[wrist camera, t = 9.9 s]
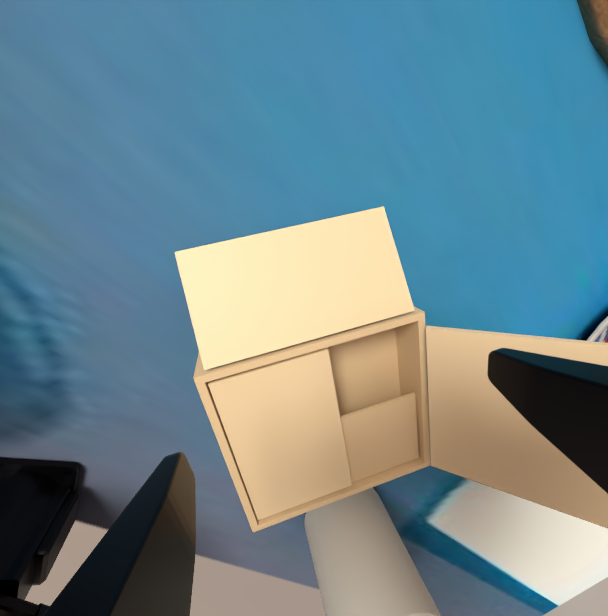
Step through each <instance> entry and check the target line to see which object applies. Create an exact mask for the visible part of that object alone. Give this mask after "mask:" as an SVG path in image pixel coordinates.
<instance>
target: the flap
mask: <svg viewBox="0 0 608 616" xmlns="http://www.w3.org/2000/svg"><path fill="white" fill-rule="evenodd" d="M426 345H427V372H428V399H429V426H430V453H431V466H433V467H436V468H439V469H442V470H444V471H447V472H450V473H453V474H456V475H459V476H461V477H464V478H467V479H470V480H473V481H475V482H478V483H481V484H484V485H487V486H490V487H492V488H495V489H498V490H501V491H504V492H507V493H509V494H512V495H515V496H518V497H521V498H523V499H526V500H529V501H532V502H535V503H538V504H540V505H543V506H546V507H549V508H552V509H555V510H557V511H560V512H563V513H566V514H569V515H572V516H574V517H577V518H580V519H583V520H586V521H588V522H591V523H594V524H597V525H600V526H603V527H605V528H608V494H607V493H606V492H605V491H604V490H603V489H602V488H601V487H600V486H598V485H597V484H596V483H595V482H594V481H593V480H592V479H591V478H590V477H588V476H587V475H586V474H585V473H584V472H583V471H582V470H581V469H580V468H578V467H577V466H576V465H575V464H574V463H573V462H572V461H571V460H570V459H568V458H567V457H566V456H565V455H564V454H563V453H562V452H561V451H559V450H558V449H557V448H556V447H555V446H554V445H553V444H552V443H551V442H549V441H548V440H547V439H546V438H545V437H544V436H543V435H542V434H541V433H539V432H538V431H537V430H536V429H535V428H534V427H533V426H532V425H531V424H530V423H529V422H528V421H527V420H526V419H525V418H524V417H523V416H522V415H521V414H520V413H519V412H518V411H517V410H516V409H515V408H514V406H513V405H512V404H511V403H510V402H509V401H508V400H507V399H506V398H505V397H504V396H503V395H502V394H501V393H500V392H499V391H498V390H497V388H496V387H495V386H494V385H493V384H492V383H491V382H490V380H489V378H488V375H487V371H488V355H489V353H490V352H491V351H494V350H497V349H500V348H508V349H514V350H520V351H525V352H531V353H537V354H542V355H548V356H553V357H559V358H565V359H570V360H576V361H581V362H587V363H593V364H598V365H604V366H608V343H604V342H593V341H583V340H572V339H562V338H551V337H541V336H530V335H520V334H509V333H499V332H488V331H478V330H467V329H457V328H446V327H436V326H427V327H426Z"/></svg>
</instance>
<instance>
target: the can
mask: <svg viewBox="0 0 608 616" xmlns="http://www.w3.org/2000/svg"><path fill="white" fill-rule="evenodd" d="M304 525H305V530H306V534H307V538H308V542H309V547H310V551H311V555H312V559H313V564H314V568H315V572H316V576H317V581H318V585H319V589H320V593H321V598H322V602H323V606H324V610H325V615H326V616H441V615H440V613H439V611H438V609H437V607H436V605H435V603H434V601H433V600H432V598H431V596H430V594H429V592H428V590H427V588H426V586H425V584H424V582H423V580H422V578H421V576H420V574H419V572H418V571H417V569H416V567H415V565H414V563H413V561H412V559H411V557H410V555H409V553H408V551H407V549H406V547H405V545H404V543H403V542H402V540H401V538H400V536H399V534H398V532H397V530H396V528H395V526H394V524H393V522H392V520H391V518H390V516H389V514H388V513H387V511H386V509H385V507H384V505H383V503H382V501H381V499H380V497H379V495H378V493H377V492H376V491H375V490H374V488H373V487H372V488H369V489H367V490H364V491H361V492H359V493H356V494H353V495H351V496H348V497H345V498H343V499H340V500H338V501H335V502H332V503H330V504H327V505H324V506H322V507H319V508H316V509H314V510H311V511H308V512H307V513H306V515H305V522H304Z"/></svg>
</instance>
